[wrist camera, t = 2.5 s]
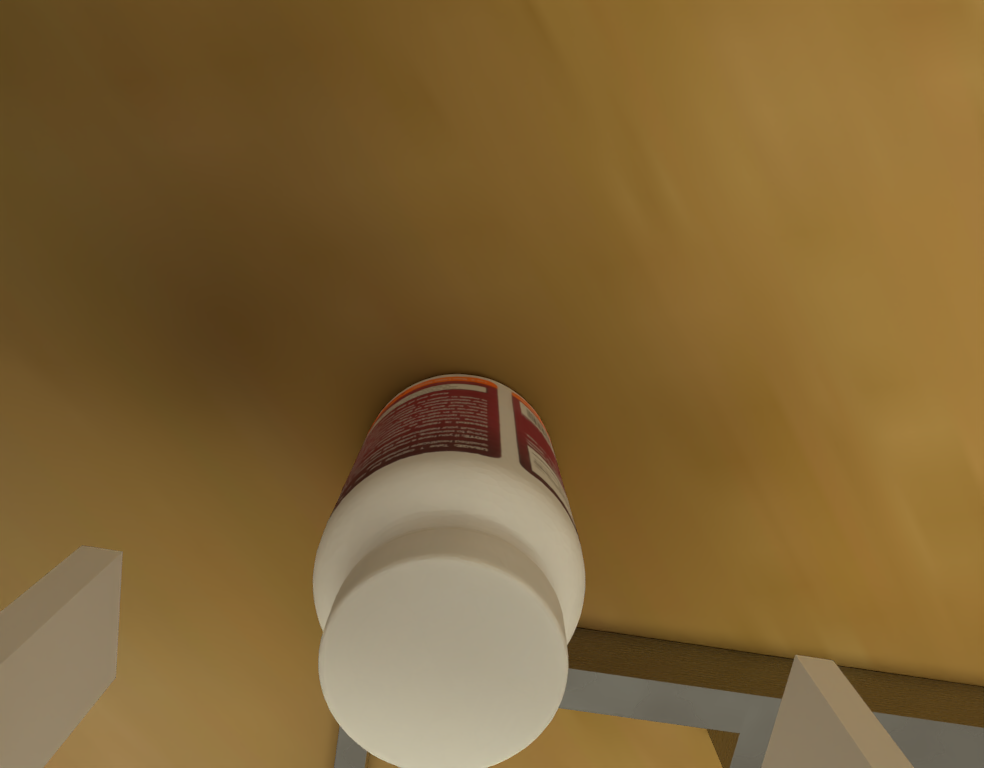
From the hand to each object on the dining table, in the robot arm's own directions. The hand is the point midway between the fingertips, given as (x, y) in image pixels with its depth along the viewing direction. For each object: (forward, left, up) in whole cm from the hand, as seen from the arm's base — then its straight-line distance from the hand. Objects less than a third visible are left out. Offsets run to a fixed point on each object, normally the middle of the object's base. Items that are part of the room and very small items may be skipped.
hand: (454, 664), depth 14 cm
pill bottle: (0, 0, -11) cm, 11 cm away
